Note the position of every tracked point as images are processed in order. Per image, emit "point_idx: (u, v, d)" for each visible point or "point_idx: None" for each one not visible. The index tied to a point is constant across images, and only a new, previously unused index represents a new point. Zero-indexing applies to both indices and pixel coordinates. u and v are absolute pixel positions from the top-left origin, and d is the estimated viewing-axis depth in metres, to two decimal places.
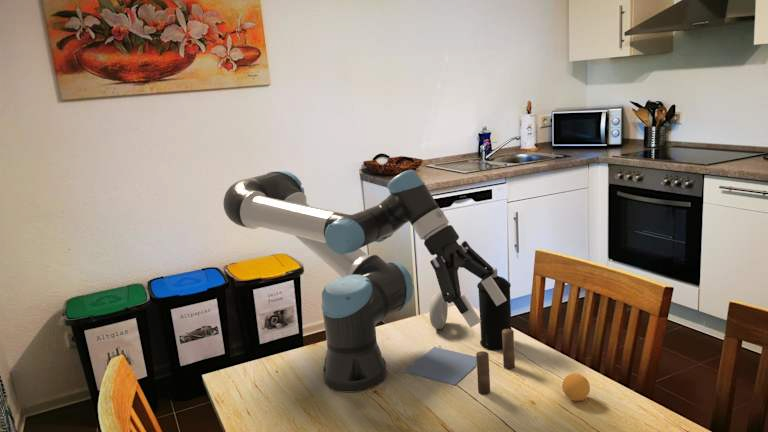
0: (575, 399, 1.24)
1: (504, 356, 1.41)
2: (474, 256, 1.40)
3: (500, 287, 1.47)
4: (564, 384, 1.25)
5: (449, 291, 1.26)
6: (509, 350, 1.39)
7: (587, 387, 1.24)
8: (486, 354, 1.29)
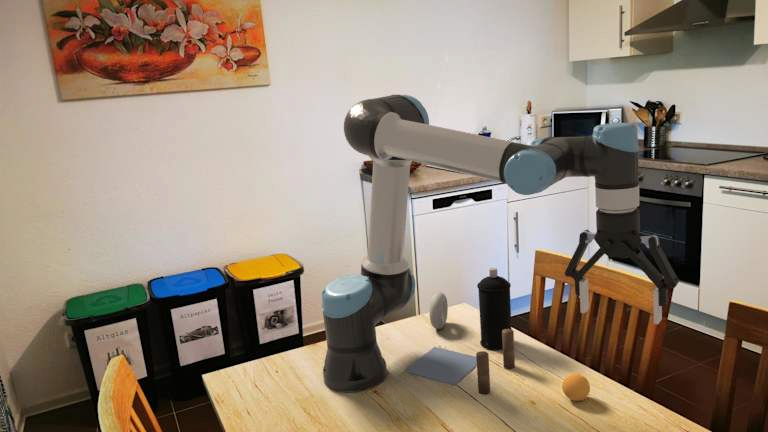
0: (575, 399, 1.24)
1: (504, 356, 1.41)
2: (584, 250, 1.18)
3: (500, 287, 1.47)
4: (564, 384, 1.25)
5: (676, 276, 1.09)
6: (509, 350, 1.39)
7: (587, 387, 1.24)
8: (486, 354, 1.29)
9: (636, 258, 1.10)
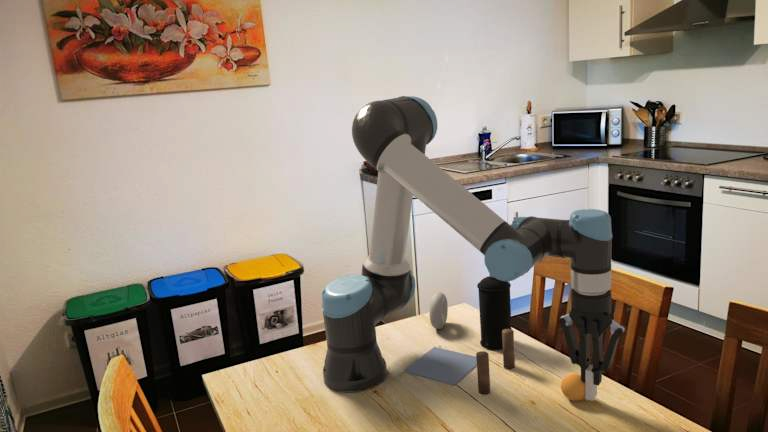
0: (574, 399, 1.24)
1: (504, 356, 1.41)
2: (574, 333, 1.24)
3: (500, 287, 1.47)
4: (562, 385, 1.25)
5: None
6: (509, 350, 1.39)
7: (585, 386, 1.24)
8: (486, 354, 1.29)
9: (595, 339, 1.19)
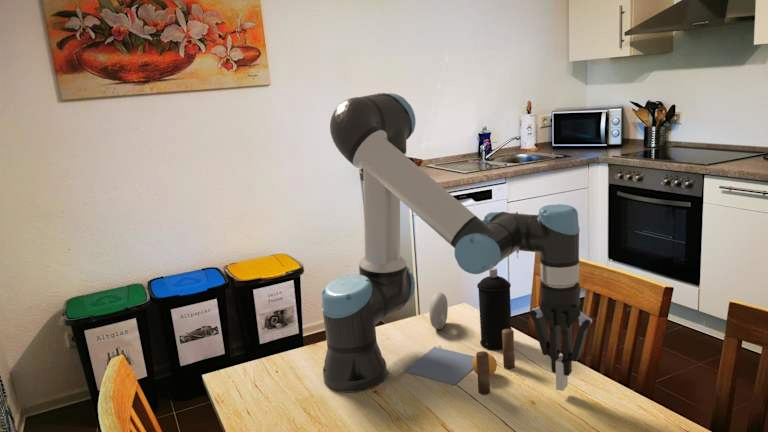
0: None
1: (504, 356, 1.41)
2: (544, 325, 1.27)
3: (500, 287, 1.47)
4: (473, 369, 1.38)
5: (581, 352, 1.24)
6: (509, 350, 1.39)
7: None
8: (486, 354, 1.29)
9: (564, 331, 1.22)
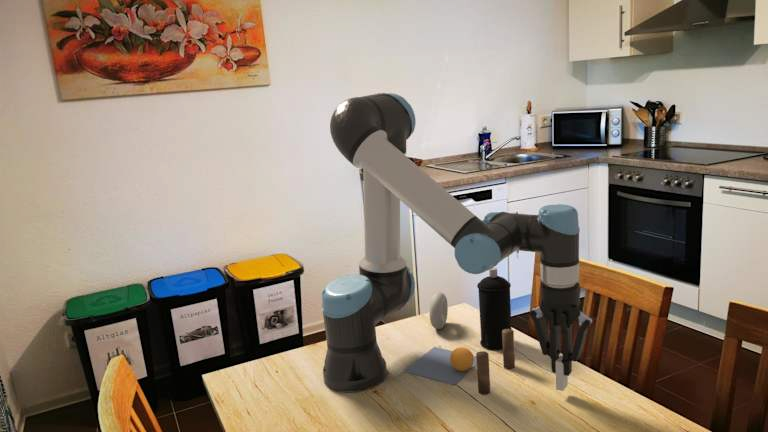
0: (455, 356, 1.40)
1: (504, 356, 1.41)
2: (544, 325, 1.27)
3: (500, 287, 1.47)
4: (464, 368, 1.40)
5: (581, 352, 1.24)
6: (509, 350, 1.39)
7: None
8: (486, 354, 1.29)
9: (564, 331, 1.22)
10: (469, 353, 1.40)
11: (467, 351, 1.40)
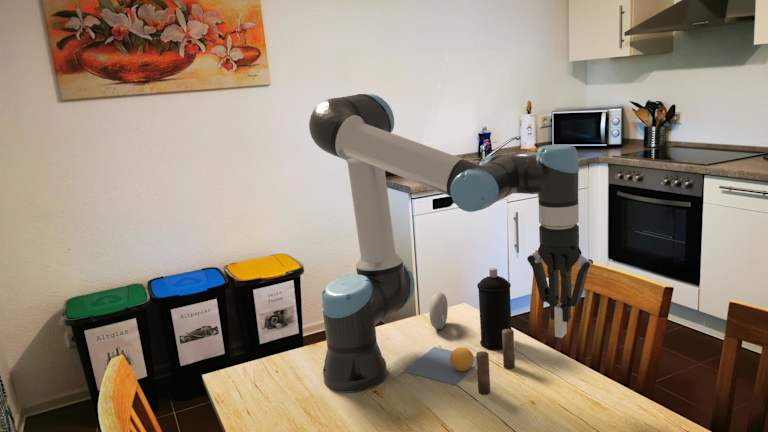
0: (455, 356, 1.40)
1: (504, 356, 1.41)
2: (543, 271, 1.25)
3: (500, 287, 1.47)
4: (464, 368, 1.40)
5: (580, 298, 1.21)
6: (509, 350, 1.39)
7: None
8: (486, 354, 1.29)
9: (563, 275, 1.19)
10: (469, 353, 1.40)
11: (467, 351, 1.40)
